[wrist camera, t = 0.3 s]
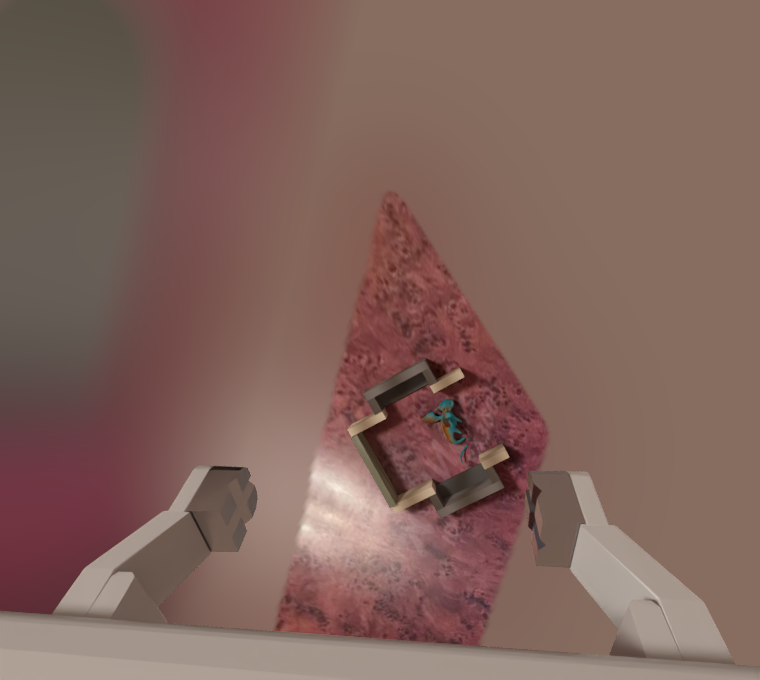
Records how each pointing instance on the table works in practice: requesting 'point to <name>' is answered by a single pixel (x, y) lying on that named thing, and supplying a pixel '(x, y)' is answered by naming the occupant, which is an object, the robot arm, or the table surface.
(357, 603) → the table surface
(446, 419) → the dragon figurine
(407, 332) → the table surface
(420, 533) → the table surface
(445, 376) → the channel
